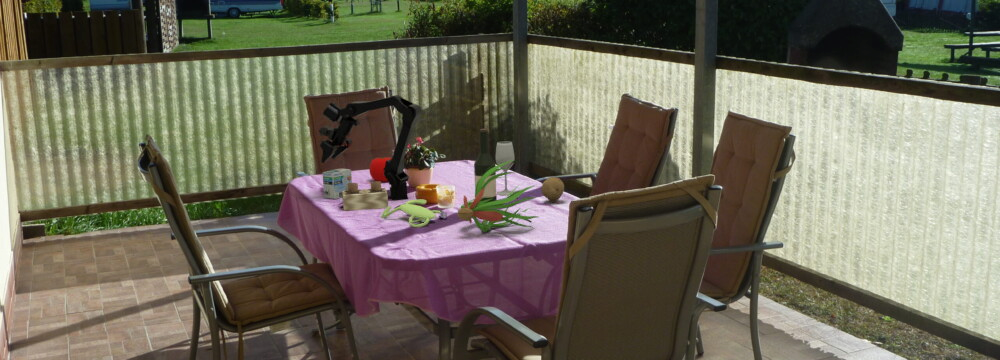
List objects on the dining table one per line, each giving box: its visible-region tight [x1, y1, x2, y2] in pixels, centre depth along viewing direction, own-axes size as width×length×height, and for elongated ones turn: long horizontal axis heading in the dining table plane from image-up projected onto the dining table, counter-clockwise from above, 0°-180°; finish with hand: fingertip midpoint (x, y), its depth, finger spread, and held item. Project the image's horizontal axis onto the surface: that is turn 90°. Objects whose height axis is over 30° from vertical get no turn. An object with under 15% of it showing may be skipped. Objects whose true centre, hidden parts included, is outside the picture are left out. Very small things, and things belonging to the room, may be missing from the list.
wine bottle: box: [473, 128, 498, 206], centre depth 409 cm, size 8×8×30 cm
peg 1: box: [347, 182, 359, 193], centre depth 417 cm, size 4×4×6 cm
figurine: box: [380, 198, 448, 228], centre depth 395 cm, size 18×27×6 cm
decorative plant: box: [456, 158, 538, 233], centre depth 372 cm, size 26×25×30 cm
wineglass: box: [495, 141, 515, 196], centre depth 433 cm, size 8×8×21 cm
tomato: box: [369, 155, 392, 183], centre depth 470 cm, size 12×13×11 cm
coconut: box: [540, 176, 565, 203], centre depth 414 cm, size 9×9×10 cm
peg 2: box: [370, 180, 382, 192], centre depth 418 cm, size 4×4×6 cm
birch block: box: [342, 187, 389, 212], centre depth 418 cm, size 17×10×6 cm, turn 101°
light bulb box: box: [322, 167, 353, 200], centre depth 440 cm, size 11×7×11 cm, turn 143°
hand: (327, 160), depth 439 cm, fingers open, 9 cm apart
